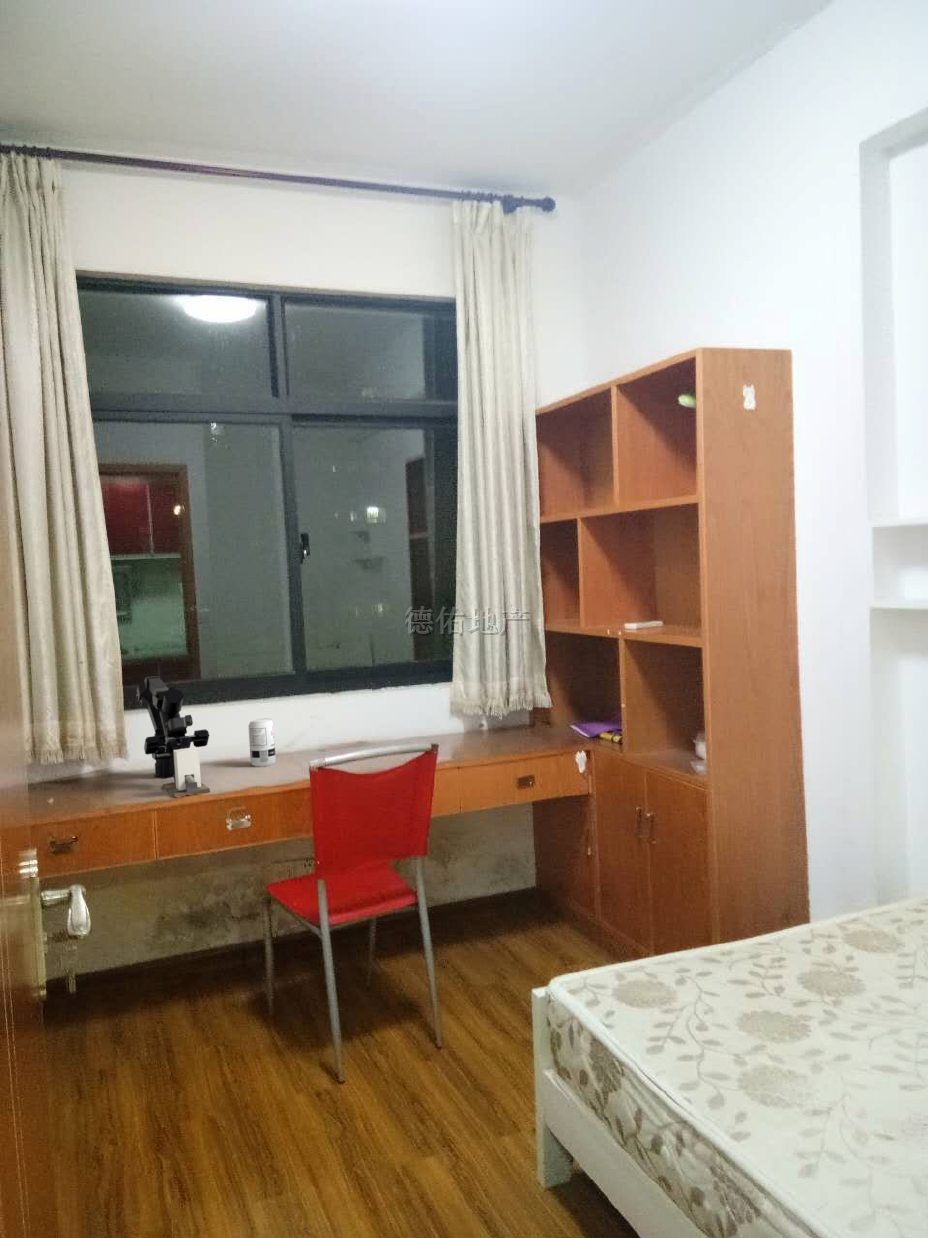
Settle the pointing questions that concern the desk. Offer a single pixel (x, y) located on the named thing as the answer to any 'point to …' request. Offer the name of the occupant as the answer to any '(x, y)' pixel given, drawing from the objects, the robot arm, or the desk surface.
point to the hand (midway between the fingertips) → (182, 764)
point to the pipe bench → (190, 787)
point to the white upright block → (186, 766)
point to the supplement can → (262, 742)
